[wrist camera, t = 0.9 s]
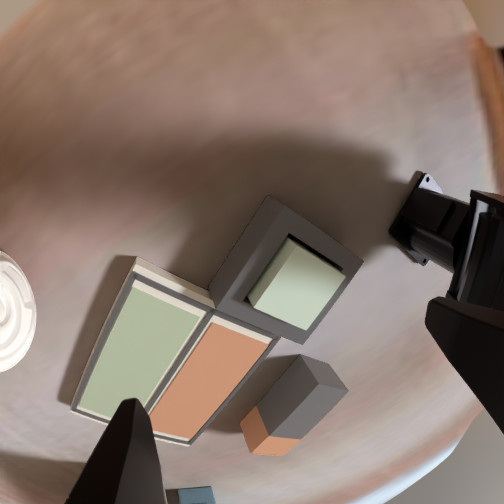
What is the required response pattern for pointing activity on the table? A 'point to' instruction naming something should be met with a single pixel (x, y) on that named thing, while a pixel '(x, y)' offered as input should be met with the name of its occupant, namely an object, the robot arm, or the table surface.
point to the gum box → (196, 495)
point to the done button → (295, 285)
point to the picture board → (168, 356)
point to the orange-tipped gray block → (292, 407)
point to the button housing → (259, 255)
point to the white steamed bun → (15, 313)
